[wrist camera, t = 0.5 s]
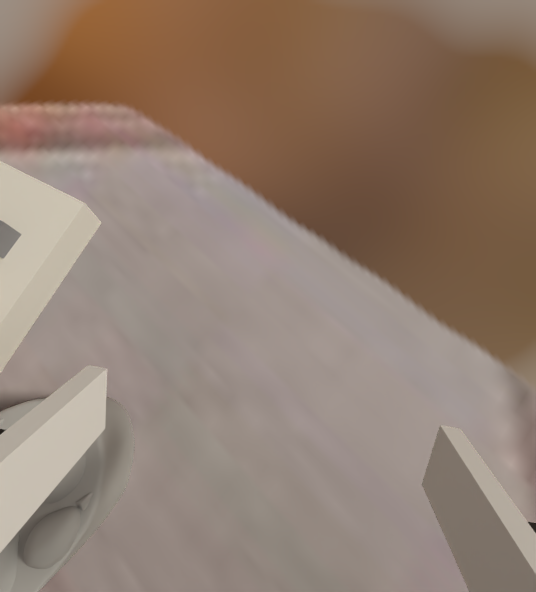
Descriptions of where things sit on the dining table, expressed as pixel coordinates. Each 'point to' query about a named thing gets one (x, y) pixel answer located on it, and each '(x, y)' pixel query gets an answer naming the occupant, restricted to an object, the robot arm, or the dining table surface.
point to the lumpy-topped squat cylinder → (68, 503)
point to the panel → (35, 250)
